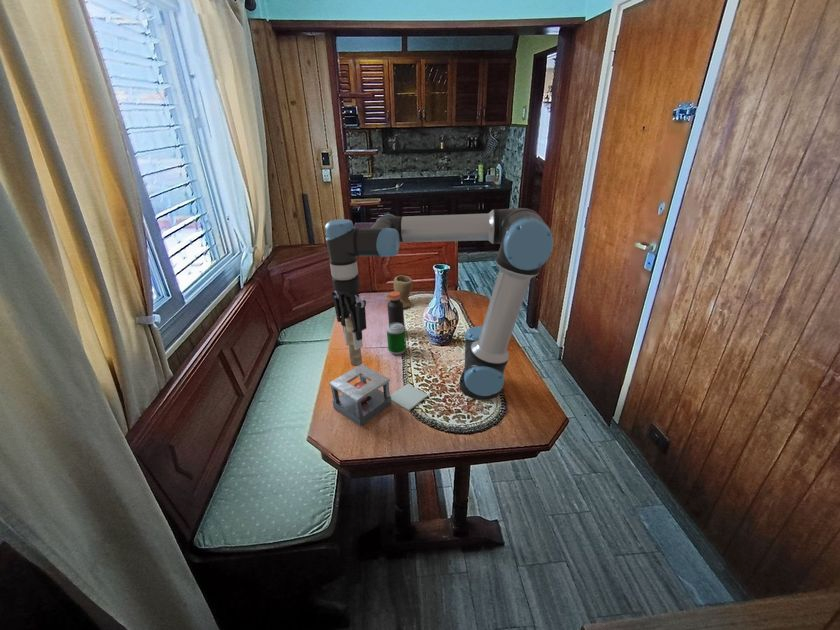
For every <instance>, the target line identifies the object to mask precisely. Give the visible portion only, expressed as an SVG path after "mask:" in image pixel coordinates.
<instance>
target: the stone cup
mask: <svg viewBox="0 0 840 630" xmlns="http://www.w3.org/2000/svg"><path fill="white" fill-rule="evenodd" d="M413 284H414V282H413V279H412V278H411V277H410V276H406V275H401V274H400V275H397V276H396V277H394V279H393V291H397V292H400V301H401V302H402V303H403V309H406V308H408V307H410V306H412V302H411V300H410V299H409V297H410V294H411V292H412V289H413ZM385 298H386V299H387V301H388V303H389V302H390V300H389V294H387V295H386V296H385Z"/></svg>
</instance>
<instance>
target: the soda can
mask: <svg viewBox="0 0 840 630" xmlns="http://www.w3.org/2000/svg"><path fill="white" fill-rule="evenodd" d="M406 337H407V335H406V327H405V324H404V325H402V324H401V323H391V324H390V325H389V324H388V325H387V327H386V339H387V348H388V352H389V353H391V354H392V355H395V356H400V355H402V354H403V353H405V352H406V350H407V338H406Z"/></svg>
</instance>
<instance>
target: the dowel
mask: <svg viewBox="0 0 840 630" xmlns="http://www.w3.org/2000/svg"><path fill="white" fill-rule="evenodd" d="M345 324H346V332H347V339H348V353H349V360H350V365H351V366H352V367H357V366H359V365H361V364H363V357H362V347H361V348H359V349H357V350H355V349H354V341H353V333H352V331H353V330H354V328H353V324H352V320H351V316H349V317H347V318H345Z"/></svg>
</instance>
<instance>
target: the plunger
mask: <svg viewBox="0 0 840 630" xmlns="http://www.w3.org/2000/svg"><path fill="white" fill-rule="evenodd" d="M365 384H366V383H364V382H361V381H359V382H356V383H355V384H354V385H353V386H354V387H356V388H358V389H359V388H360V387H362V386H364V385H365ZM367 398H368V396H367V397H365V398H364V399H362V400H361V403H362V402H366V399H367Z"/></svg>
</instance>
